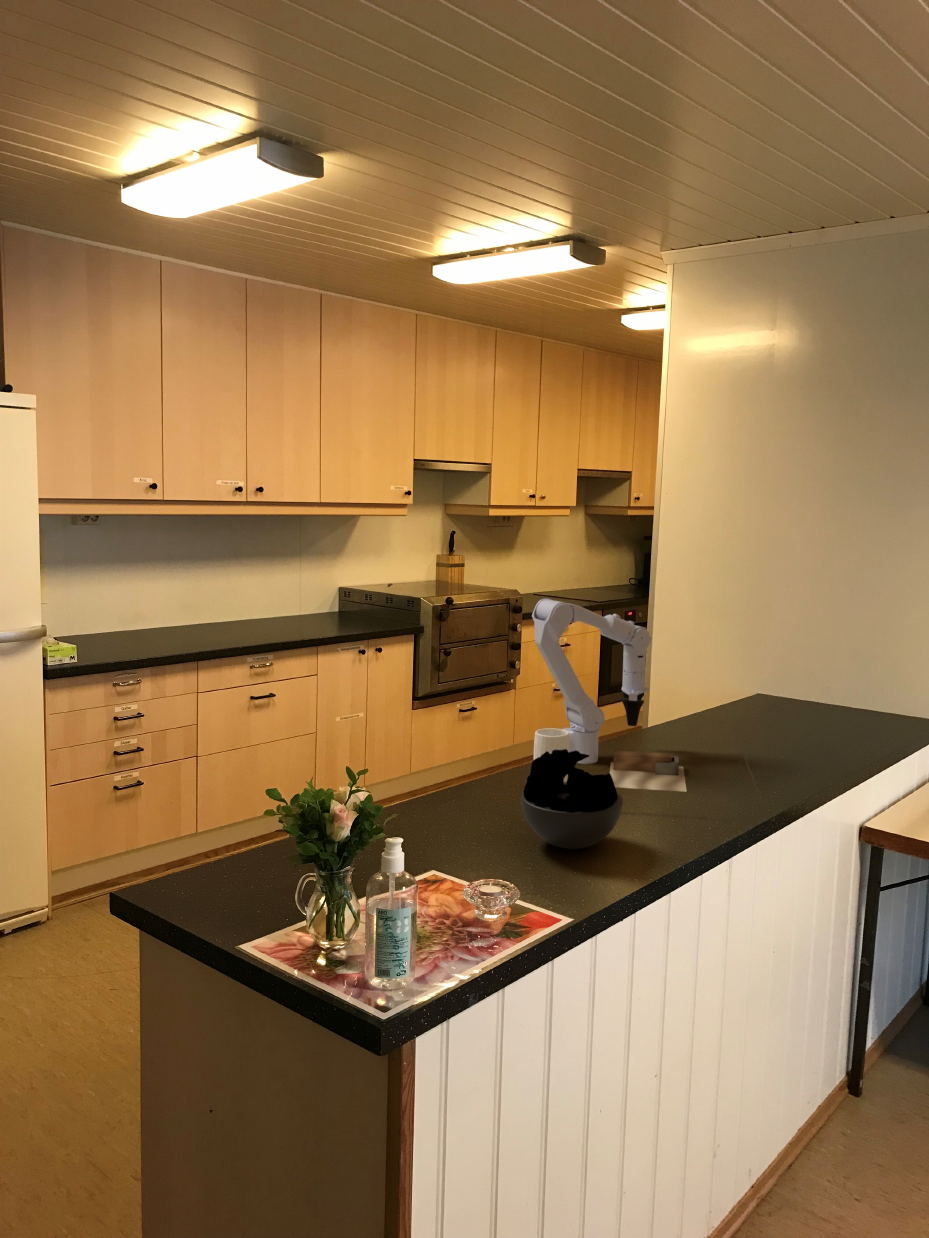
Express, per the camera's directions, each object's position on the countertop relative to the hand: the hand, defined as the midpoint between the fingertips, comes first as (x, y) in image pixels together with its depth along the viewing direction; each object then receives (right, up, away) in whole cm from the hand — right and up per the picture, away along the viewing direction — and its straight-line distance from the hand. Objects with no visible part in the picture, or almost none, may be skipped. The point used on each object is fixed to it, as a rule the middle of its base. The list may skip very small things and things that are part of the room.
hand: (632, 722), depth 257 cm
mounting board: (0, -12, -18) cm, 22 cm away
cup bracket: (+6, -11, -14) cm, 19 cm away
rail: (0, -10, -13) cm, 17 cm away
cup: (-24, -13, -29) cm, 40 cm away
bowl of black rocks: (-23, -18, -63) cm, 70 cm away
